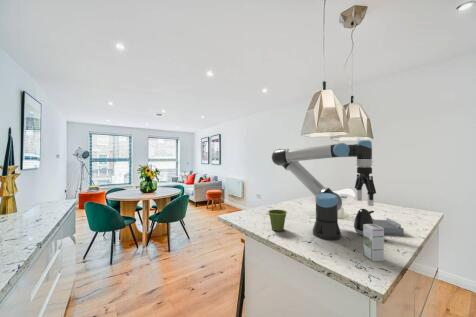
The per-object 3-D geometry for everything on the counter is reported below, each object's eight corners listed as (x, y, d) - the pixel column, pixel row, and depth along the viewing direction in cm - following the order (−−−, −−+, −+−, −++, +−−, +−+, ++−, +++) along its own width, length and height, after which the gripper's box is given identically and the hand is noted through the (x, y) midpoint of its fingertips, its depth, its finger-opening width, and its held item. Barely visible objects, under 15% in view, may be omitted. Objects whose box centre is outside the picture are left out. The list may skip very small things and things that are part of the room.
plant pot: (285, 226, 129) (285, 209, 129) (288, 233, 117) (288, 214, 117) (267, 226, 130) (267, 208, 130) (268, 232, 118) (268, 213, 118)
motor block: (373, 233, 116) (373, 224, 116) (358, 223, 136) (358, 214, 136) (403, 235, 114) (403, 225, 114) (383, 224, 134) (383, 215, 134)
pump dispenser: (378, 238, 109) (378, 211, 109) (357, 237, 111) (357, 210, 111) (370, 232, 119) (369, 207, 119) (351, 230, 121) (351, 206, 121)
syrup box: (384, 261, 85) (384, 227, 85) (372, 261, 85) (372, 228, 85) (374, 254, 91) (374, 223, 91) (362, 255, 91) (362, 223, 91)
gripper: (383, 167, 102) (383, 208, 102) (361, 166, 127) (361, 198, 127) (368, 167, 104) (368, 208, 103) (348, 166, 128) (349, 198, 128)
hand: (364, 203), depth 115 cm, fingers open, 13 cm apart
